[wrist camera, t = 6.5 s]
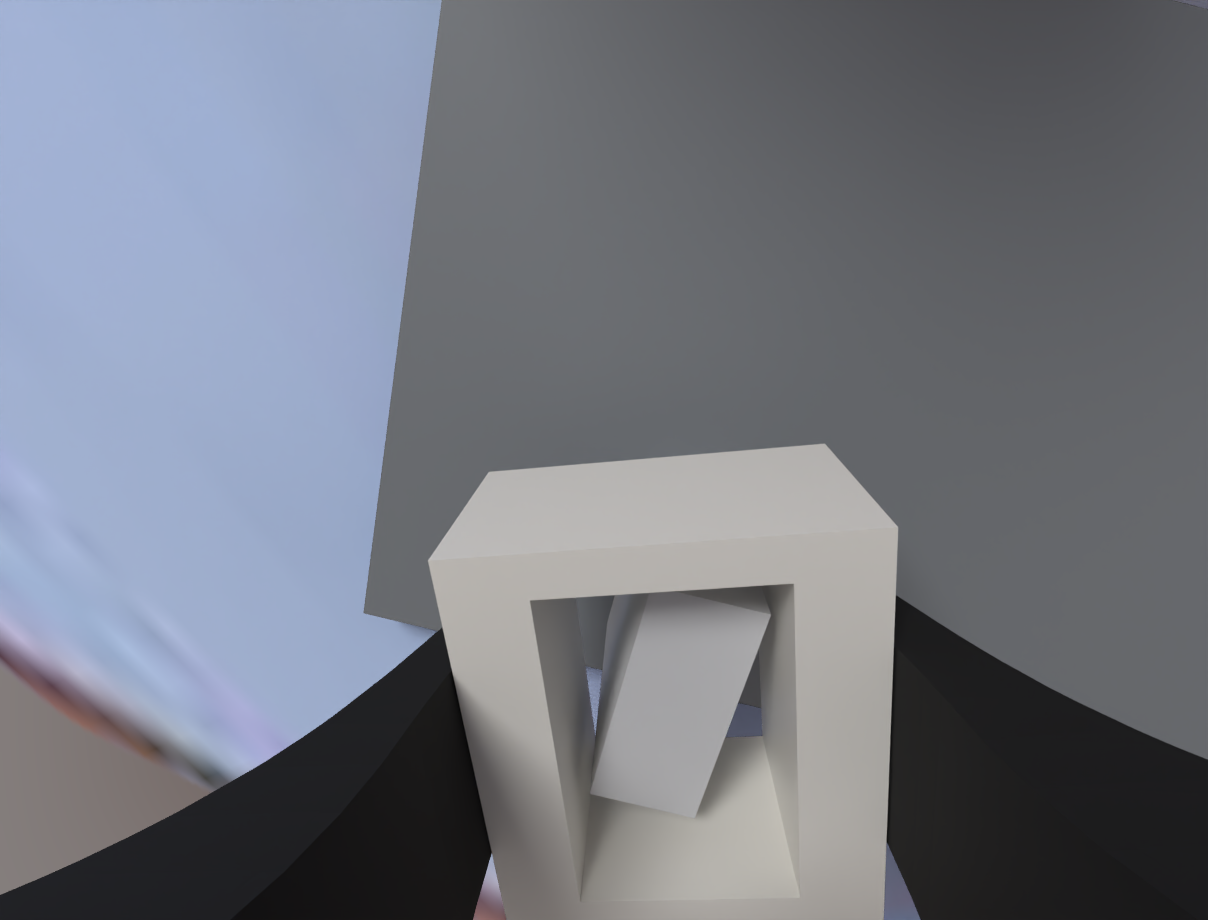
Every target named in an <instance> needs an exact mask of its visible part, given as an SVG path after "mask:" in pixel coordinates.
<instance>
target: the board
mask: <svg viewBox="0 0 1208 920" xmlns="http://www.w3.org/2000/svg"><path fill="white" fill-rule="evenodd" d="M814 444H826V446H827V447H828V448H829V449H830V450H831V451H832V452H833V454H834V455H835V456H836V457H837V458H838V459H839V460H840V461H841V463H842V464H843V465H844V466H845V467H846V468H847V469H848V471H849V472H850V473H851V474H852V475H853V476H854V477H855V479H856V480H857V481H858V482H859V483H860V484H861V485H862V487H863V488H864V489H865V490H866V491H867V492H868V493H869V494H870V496H871V497H872V498H873V499H874V500H875V501H876V502H877V504H878V505H879V506H880V507H881V508H882V509H883V510H884V512H885V513H886V514H887V515H888V516H889V517H890V518H891V520H892V521H893V522H894V523H895V524H896V525H897V526H898V547H897V574H896V595H897V596H898V597H900V598H901V599H903V600H905V601H906V602H908V603H909V604H911V605H912V606H914V607H915V608H917V609H918V610H920V611H921V612H923V613H924V614H926V615H927V616H929V617H931V618H932V619H934V620H935V621H937V622H938V623H940V624H941V625H943V626H945V627H946V628H948V629H949V630H951V631H953V632H954V633H956V634H957V635H959V636H961V637H962V638H964V639H965V640H967V641H969V642H970V643H972V644H974V645H975V646H977V647H978V648H980V649H982V650H984V651H985V652H987V653H989V654H990V655H992V656H994V657H995V658H997V659H999V660H1000V661H1002V662H1004V663H1006V664H1008V665H1009V666H1011V667H1013V668H1015V669H1017V670H1018V671H1020V672H1022V673H1024V674H1026V675H1027V676H1029V677H1031V678H1033V679H1035V680H1036V681H1038V682H1040V683H1042V684H1044V685H1046V686H1047V687H1049V688H1051V689H1053V690H1055V691H1057V692H1059V693H1061V694H1063V695H1065V696H1067V697H1069V698H1071V699H1073V700H1075V701H1077V702H1079V703H1081V704H1083V705H1085V706H1087V707H1089V708H1092V709H1094V710H1096V711H1098V712H1100V713H1102V714H1104V715H1106V716H1108V717H1111V718H1113V719H1115V720H1117V721H1119V722H1121V723H1123V724H1125V725H1127V726H1130V727H1132V728H1134V729H1136V730H1138V731H1141V732H1143V733H1145V734H1147V735H1150V736H1152V737H1154V738H1157V739H1159V740H1161V741H1164V742H1166V743H1168V744H1171V745H1173V746H1175V747H1178V748H1180V749H1183V750H1185V751H1188V752H1190V753H1193V754H1195V755H1198V756H1200V757H1203V758H1205V759H1208V9H1204V8H1200V7H1196V6H1192V5H1189V4H1185V3H1181V2H1177V1H1173V0H442V3H441V11H440V19H439V27H438V34H437V42H436V50H435V58H434V66H433V74H432V81H431V89H430V97H429V105H428V113H427V121H426V128H425V136H424V144H423V152H422V160H421V167H420V175H419V183H418V191H417V199H416V207H415V214H414V222H413V230H412V238H411V246H410V254H409V261H408V269H407V277H406V285H405V293H404V301H403V308H402V316H401V324H400V332H399V340H398V348H397V355H396V363H395V371H394V379H393V387H392V395H391V402H390V410H389V418H388V426H387V434H386V441H385V449H384V457H383V465H382V473H381V481H380V488H379V496H378V504H377V512H376V520H375V528H374V535H373V543H372V551H371V559H370V567H369V575H368V582H367V590H366V598H365V606H364V613H365V614H369V615H374V616H378V617H382V618H386V619H390V620H395V621H399V622H403V623H407V624H411V625H416V626H420V627H424V628H428V629H432V630H436V631H439V630H440V629H441V628H442V623H441V618H440V614H439V609H438V605H437V600H436V595H435V591H434V586H433V582H432V577H431V573H430V568H429V563H428V560H429V558H430V557H431V555H432V554H433V553H434V551H435V550H436V548H437V547H438V545H439V544H440V542H441V541H442V539H443V538H444V537H445V535H446V534H447V532H448V531H449V529H450V528H451V526H452V525H453V523H454V522H455V521H456V519H457V518H458V516H459V515H460V513H461V512H462V510H463V509H464V507H465V506H466V505H467V503H468V502H469V500H470V499H471V497H472V496H473V494H474V493H475V491H476V490H477V488H478V487H479V486H480V484H481V483H482V481H483V480H484V478H485V477H486V475H487V474H488V472H493V471H505V470H517V469H529V468H541V467H553V466H565V465H576V464H588V463H600V462H612V461H624V460H636V459H648V458H660V457H672V456H683V455H695V454H707V453H719V452H731V451H743V450H755V449H767V448H779V447H790V446H802V445H814ZM576 603H577V610H578V617H579V624H580V631H581V638H582V645H583V652H584V660H585V666H587V667H591V668H596V669H600V670H602V679H601V688H600V698H599V708H598V717H597V727H596V737H595V747H594V756H593V766H592V776H591V786H590V794H593V795H597V796H601V797H605V798H610V799H614V800H618V801H622V802H627V803H631V804H635V805H639V806H644V807H648V808H652V809H656V810H661V811H665V812H669V813H673V814H678V815H682V816H686V817H690V818H695V816H696V814H697V811H698V808H699V806H700V803H701V800H702V798H703V795H704V792H705V790H706V787H707V784H708V782H709V779H710V776H711V774H712V771H713V768H714V766H715V763H716V760H717V758H718V755H719V752H720V750H721V747H722V744H723V742H724V739H725V736H726V734H727V731H728V728H729V726H730V723H731V720H732V718H733V715H734V712H735V710H736V707H737V704H738V703H742V704H746V705H750V706H755V707H759V708H761V689H760V664H759V646H760V643H761V641H762V638H763V635H764V633H765V630H766V627H767V625H768V622H769V619H770V617H771V613H770V610H769V607H768V604H767V601H766V598H765V595H764V592H763V589H762V586H748V587H733V588H717V589H701V590H686V591H670V592H655V593H639V594H623V595H608V596H592V597H577V598H576Z"/></svg>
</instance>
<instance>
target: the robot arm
mask: <svg viewBox="0 0 1208 920" xmlns="http://www.w3.org/2000/svg"><path fill="white" fill-rule="evenodd" d="M887 843H888V845H889V848H890V850H891V852H892V854H893V856H894V859H895V861H896V863H897V865H898V868H899V870H900V872H901V874H902V877H903V879H904V881H905V883H906V886H907V888H908V890H909V892H910V895H911V897H912V899H913V902H914V904H915V907H916V909H917V912H918V914H919V917H920V919H921V920H1208V759H1205V758H1203V757H1200V756H1198V755H1195V754H1193V753H1190V752H1188V751H1185V750H1183V749H1180V748H1178V747H1175V746H1173V745H1171V744H1168V743H1166V742H1164V741H1161V740H1159V739H1157V738H1154V737H1152V736H1150V735H1147V734H1145V733H1143V732H1141V731H1138V730H1136V729H1134V728H1132V727H1130V726H1127V725H1125V724H1123V723H1121V722H1119V721H1117V720H1115V719H1113V718H1111V717H1108V716H1106V715H1104V714H1102V713H1100V712H1098V711H1096V710H1094V709H1092V708H1089V707H1087V706H1085V705H1083V704H1081V703H1079V702H1077V701H1075V700H1073V699H1071V698H1069V697H1067V696H1065V695H1063V694H1061V693H1059V692H1057V691H1055V690H1053V689H1051V688H1049V687H1047V686H1046V685H1044V684H1042V683H1040V682H1038V681H1036V680H1035V679H1033V678H1031V677H1029V676H1027V675H1026V674H1024V673H1022V672H1020V671H1018V670H1017V669H1015V668H1013V667H1011V666H1009V665H1008V664H1006V663H1004V662H1002V661H1000V660H999V659H997V658H995V657H994V656H992V655H990V654H989V653H987V652H985V651H984V650H982V649H980V648H978V647H977V646H975V645H974V644H972V643H970V642H969V641H967V640H965V639H964V638H962V637H961V636H959V635H957V634H956V633H954V632H953V631H951V630H949V629H948V628H946V627H945V626H943V625H941V624H940V623H938V622H937V621H935V620H934V619H932V618H931V617H929V616H927V615H926V614H924V613H923V612H921V611H920V610H918V609H917V608H915V607H914V606H912V605H911V604H909V603H908V602H906V601H905V600H903V599H901V598H900V597H898V596H897V595H896V600H895V627H894V654H893V681H892V707H891V734H890V761H889V788H888V814H887ZM491 853H492V851H491V847H490V842H489V837H488V833H487V828H486V824H485V819H484V815H483V810H482V805H481V801H480V796H479V792H478V787H477V783H476V778H475V773H474V769H473V764H472V760H471V755H470V751H469V746H468V742H467V737H466V732H465V728H464V723H463V719H462V714H461V710H460V705H459V700H458V696H457V691H456V687H455V682H454V678H453V673H452V668H451V664H450V659H449V655H448V650H447V646H446V641H445V637H444V632H443V627H442V628H441V629H440V630H439V631H438V632H436V633H435V634H434V635H433V636H432V637H431V638H429V639H428V640H427V641H426V642H425V643H424V644H422V645H421V646H420V647H419V648H418V649H417V650H415V651H414V652H413V653H412V654H411V655H409V656H408V657H407V658H406V659H405V660H404V661H402V662H401V663H400V664H399V665H398V666H396V667H395V668H394V669H393V670H392V671H391V672H389V673H388V674H387V675H386V676H384V677H383V678H382V679H380V680H379V681H378V682H377V683H375V684H374V685H373V686H371V687H370V688H369V689H368V690H366V691H365V692H364V693H362V694H361V695H360V696H359V697H357V698H356V699H355V700H353V701H352V702H351V703H350V704H348V705H347V706H346V707H344V708H343V709H342V710H341V711H339V712H338V713H337V714H335V715H334V716H333V717H331V718H330V719H328V720H327V721H326V722H324V723H323V724H321V725H320V726H319V727H317V728H316V729H314V730H313V731H311V732H310V733H308V734H307V735H306V736H304V737H303V738H301V739H300V740H298V741H296V742H295V743H293V744H292V745H290V746H289V747H287V748H286V749H284V750H283V751H281V752H280V753H278V754H277V755H275V756H273V757H272V758H270V759H269V760H267V761H266V762H264V763H262V764H261V765H259V766H257V767H256V768H254V769H253V770H251V771H249V772H247V773H245V774H244V775H242V776H240V777H238V778H237V779H235V780H233V781H231V782H230V783H228V784H226V785H224V786H223V787H221V788H219V789H217V790H216V791H214V792H212V793H210V794H209V795H207V796H205V797H203V798H202V799H200V800H198V801H196V802H195V803H193V804H191V805H189V806H188V807H186V808H184V809H182V810H180V811H179V812H177V813H175V814H173V815H171V816H169V817H167V818H165V819H163V820H161V821H159V822H157V823H156V824H153V825H152V826H149V827H148V828H146V829H144V830H142V831H140V832H138V833H136V834H134V835H132V836H130V837H128V838H126V839H124V840H122V841H119V842H117V843H115V844H113V845H111V846H109V847H107V848H105V849H103V850H101V851H99V852H97V853H94V854H92V855H90V856H88V857H86V858H84V859H82V860H80V861H78V862H76V863H73V864H71V865H69V866H67V867H64V868H62V869H60V870H58V871H55V872H53V873H51V874H49V875H47V876H44V877H42V878H40V879H37V880H35V881H32V882H30V883H28V884H25V885H23V886H21V887H18V888H16V889H13V890H11V891H9V892H6V893H4V894H2V895H0V920H473V917H474V913H475V909H476V905H477V902H478V898H479V895H480V891H481V888H482V884H483V881H484V878H485V874H486V871H487V867H488V864H489V860H490V857H491Z"/></svg>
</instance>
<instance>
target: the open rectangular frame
mask: <svg viewBox="0 0 1208 920" xmlns="http://www.w3.org/2000/svg"><path fill="white" fill-rule="evenodd" d="M897 547H898V526H897V525H896V524H895V523H894V522H893V521H892V520H891V518H890V517H889V516H888V515H887V514H886V513H885V512H884V510H883V509H882V508H881V507H880V506H879V505H878V504H877V502H876V501H875V500H874V499H873V498H872V497H871V496H870V494H869V493H868V492H867V491H866V490H865V489H864V488H863V487H862V485H861V484H860V483H859V482H858V481H857V480H856V479H855V477H854V476H853V475H852V474H851V473H850V472H849V471H848V469H847V468H846V467H845V466H844V465H843V464H842V463H841V461H840V460H839V459H838V458H837V457H836V456H835V455H834V454H833V452H832V451H831V450H830V449H829V448H828V447H827V446H826V444H814V445H802V446H790V447H779V448H767V449H755V450H743V451H731V452H719V453H707V454H695V455H683V456H672V457H660V458H648V459H636V460H624V461H612V462H600V463H588V464H576V465H565V466H553V467H541V468H529V469H517V470H505V471H493V472H488V474H487V475H486V477H485V478H484V480H483V481H482V483H481V484H480V486H479V487H478V488H477V490H476V491H475V493H474V494H473V496H472V497H471V499H470V500H469V502H468V503H467V505H466V506H465V507H464V509H463V510H462V512H461V513H460V515H459V516H458V518H457V519H456V521H455V522H454V523H453V525H452V526H451V528H450V529H449V531H448V532H447V534H446V535H445V537H444V538H443V539H442V541H441V542H440V544H439V545H438V547H437V548H436V550H435V551H434V553H433V554H432V555H431V557H430V558H429V560H428V563H429V568H430V573H431V577H432V582H433V586H434V591H435V595H436V600H437V605H438V609H439V614H440V618H441V623H442V627H443V632H444V637H445V641H446V646H447V650H448V655H449V659H450V664H451V668H452V673H453V678H454V682H455V687H456V691H457V696H458V700H459V705H460V710H461V714H462V719H463V723H464V728H465V732H466V737H467V742H468V746H469V751H470V755H471V760H472V764H473V769H474V773H475V778H476V783H477V787H478V792H479V796H480V801H481V805H482V810H483V815H484V819H485V824H486V828H487V833H488V837H489V842H490V847H491V851H492V856H493V860H494V865H495V869H496V874H497V878H498V883H499V888H500V892H501V897H502V901H503V906H504V910H505V915H506V920H884V895H885V868H886V841H887V814H888V788H889V761H890V734H891V707H892V681H893V654H894V627H895V600H896V574H897ZM748 586H762V589H763V592H764V595H765V598H766V601H767V604H768V607H769V610H770V613H771V617H770V619H769V622H768V625H767V627H766V630H765V633H764V635H763V638H762V641H761V643H760V646H759V664H760V689H761V714H762V736H749V737H725V739H724V742H723V744H722V747H721V750H720V752H719V755H718V758H717V760H716V763H715V766H714V768H713V771H712V774H711V776H710V779H709V782H708V784H707V787H706V790H705V792H704V795H703V798H702V800H701V803H700V806H699V808H698V811H697V814H696V816H695V818H690V817H686V816H682V815H678V814H673V813H669V812H665V811H661V810H656V809H652V808H648V807H644V806H639V805H635V804H631V803H627V802H622V801H618V800H614V799H610V798H605V797H601V796H597V795H593V794H590V786H591V776H592V766H593V756H594V747H595V730H594V723H593V716H592V709H591V702H590V695H589V688H588V681H587V674H586V667H585V660H584V652H583V645H582V638H581V631H580V624H579V617H578V610H577V603H576V598H577V597H592V596H608V595H623V594H639V593H655V592H670V591H686V590H701V589H717V588H733V587H748Z"/></svg>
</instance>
